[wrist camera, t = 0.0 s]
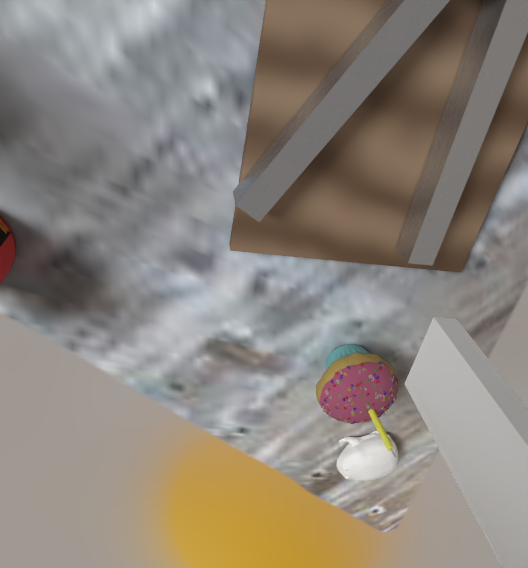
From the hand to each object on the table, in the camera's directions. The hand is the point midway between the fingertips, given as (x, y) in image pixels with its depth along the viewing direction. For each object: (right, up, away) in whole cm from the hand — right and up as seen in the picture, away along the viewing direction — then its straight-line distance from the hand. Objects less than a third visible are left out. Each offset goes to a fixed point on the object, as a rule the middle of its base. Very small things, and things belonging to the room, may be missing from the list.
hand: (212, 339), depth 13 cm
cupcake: (+11, -7, +39) cm, 41 cm away
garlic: (+14, -20, +48) cm, 54 cm away
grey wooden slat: (+6, +16, +23) cm, 28 cm away
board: (+12, +17, +24) cm, 32 cm away
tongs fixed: (+15, +16, +24) cm, 32 cm away
